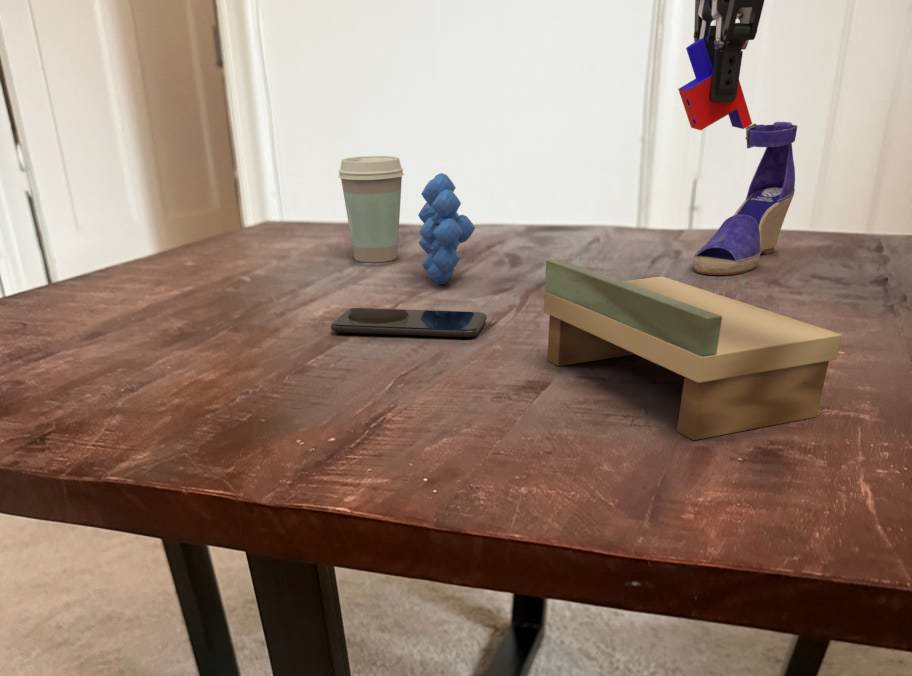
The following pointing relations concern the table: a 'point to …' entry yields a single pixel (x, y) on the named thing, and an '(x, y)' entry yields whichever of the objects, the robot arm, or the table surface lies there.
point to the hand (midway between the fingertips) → (714, 100)
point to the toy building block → (698, 91)
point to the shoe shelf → (692, 346)
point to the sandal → (755, 206)
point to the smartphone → (410, 322)
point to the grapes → (442, 228)
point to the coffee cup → (373, 205)
